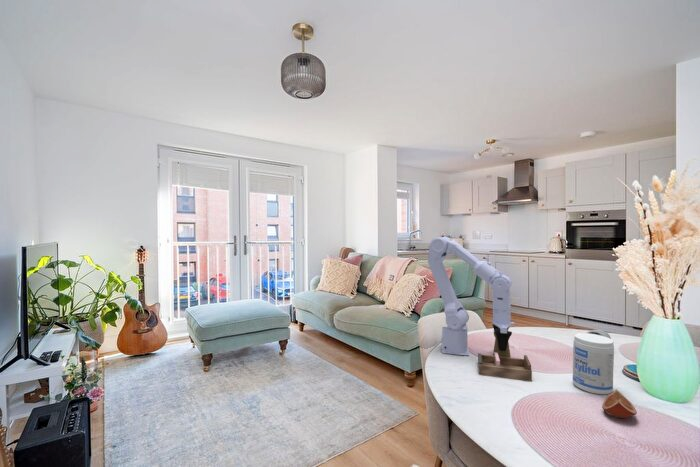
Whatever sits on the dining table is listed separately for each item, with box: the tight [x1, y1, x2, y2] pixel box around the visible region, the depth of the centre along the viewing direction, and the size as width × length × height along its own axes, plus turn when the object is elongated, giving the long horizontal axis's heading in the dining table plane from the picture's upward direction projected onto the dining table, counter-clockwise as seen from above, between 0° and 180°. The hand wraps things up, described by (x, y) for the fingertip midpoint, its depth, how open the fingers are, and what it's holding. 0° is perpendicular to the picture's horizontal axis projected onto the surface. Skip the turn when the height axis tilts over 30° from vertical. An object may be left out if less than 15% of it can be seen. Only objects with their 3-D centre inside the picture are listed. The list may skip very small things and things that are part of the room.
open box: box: [477, 352, 533, 382], centre depth 109 cm, size 15×10×5 cm, turn 71°
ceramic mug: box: [586, 329, 612, 339], centre depth 129 cm, size 11×8×8 cm
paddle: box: [495, 353, 500, 367], centre depth 110 cm, size 1×8×4 cm, turn 161°
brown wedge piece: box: [601, 389, 638, 419], centre depth 83 cm, size 8×7×5 cm
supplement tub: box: [572, 332, 615, 395], centre depth 97 cm, size 10×10×15 cm
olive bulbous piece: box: [492, 328, 512, 358], centre depth 118 cm, size 6×6×11 cm
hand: (501, 347), depth 118 cm, fingers closed on olive bulbous piece, 5 cm apart
